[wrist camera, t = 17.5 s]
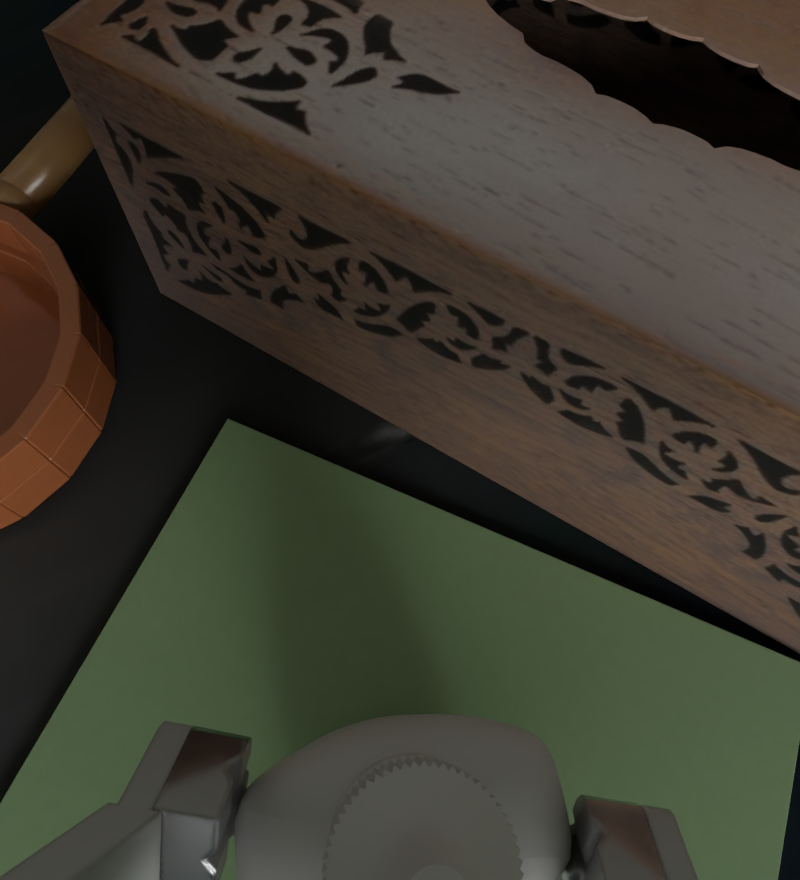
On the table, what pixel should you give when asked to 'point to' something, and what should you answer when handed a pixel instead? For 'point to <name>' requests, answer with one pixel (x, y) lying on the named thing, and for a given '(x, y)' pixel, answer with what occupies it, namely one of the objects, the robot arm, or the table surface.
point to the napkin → (410, 659)
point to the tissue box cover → (497, 239)
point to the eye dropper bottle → (408, 805)
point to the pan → (46, 367)
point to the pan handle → (46, 162)
